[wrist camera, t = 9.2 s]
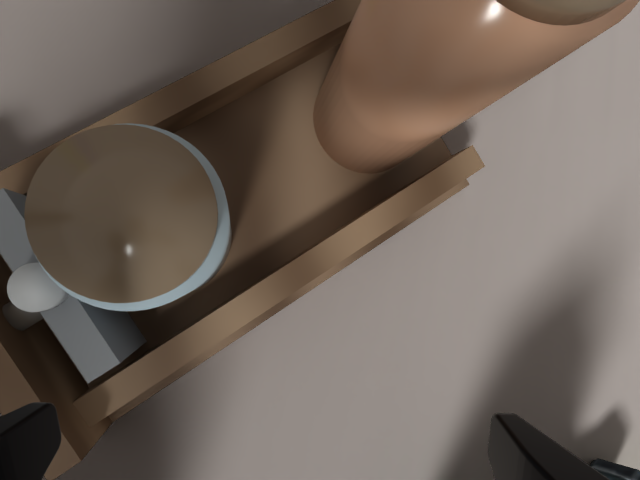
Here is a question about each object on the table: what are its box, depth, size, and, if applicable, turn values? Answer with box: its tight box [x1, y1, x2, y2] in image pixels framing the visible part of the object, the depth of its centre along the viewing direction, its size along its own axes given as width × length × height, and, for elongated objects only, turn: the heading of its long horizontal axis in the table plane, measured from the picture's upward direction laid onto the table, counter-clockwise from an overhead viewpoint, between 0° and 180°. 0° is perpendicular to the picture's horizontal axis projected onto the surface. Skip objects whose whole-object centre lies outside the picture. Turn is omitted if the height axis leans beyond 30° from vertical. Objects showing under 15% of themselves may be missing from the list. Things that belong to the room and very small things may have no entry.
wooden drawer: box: [0, 0, 485, 480], centre depth 19 cm, size 22×12×4 cm, turn 123°
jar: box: [313, 0, 639, 174], centre depth 15 cm, size 6×6×14 cm
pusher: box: [0, 188, 147, 383], centre depth 16 cm, size 2×7×5 cm, turn 33°
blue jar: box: [24, 123, 232, 311], centre depth 16 cm, size 6×6×8 cm
